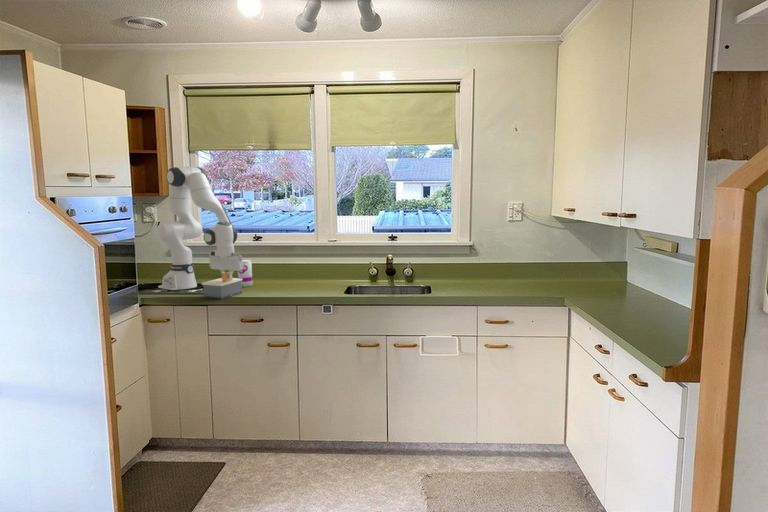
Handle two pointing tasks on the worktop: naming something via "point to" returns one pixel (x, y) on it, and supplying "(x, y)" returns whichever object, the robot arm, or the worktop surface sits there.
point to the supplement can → (246, 274)
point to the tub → (222, 290)
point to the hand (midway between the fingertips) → (227, 278)
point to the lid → (222, 280)
